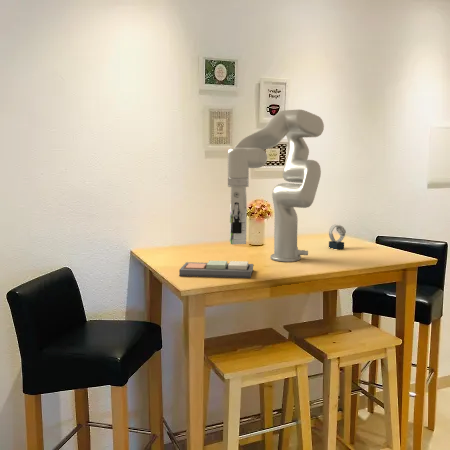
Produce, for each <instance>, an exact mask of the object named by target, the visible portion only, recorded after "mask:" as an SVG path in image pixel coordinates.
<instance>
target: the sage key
mask: <svg viewBox="0 0 450 450" xmlns="http://www.w3.org/2000/svg"><path fill="white" fill-rule="evenodd" d="M206 263H207V265H206V269H225V268H226V266H227V263H228V261H227V260H209V261H208V262H206Z"/></svg>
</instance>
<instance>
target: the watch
mask: <svg viewBox="0 0 450 450" xmlns="http://www.w3.org/2000/svg"><path fill="white" fill-rule="evenodd" d="M334 229H336V232H337V233H338V235H339V236H340V237H339V238H338V239H337V240H336V239H335V236H334V233H333V231H334ZM346 233H347V232H346V229H345V227H344V226H343V225H341V224H332V225H331V227H330V228H329V230H328V237H329V239H330V241H328V248H329V247H330V248H329V249H331V248H333V249H332V250H334V249H341V250H345V242H343V240H344V239H345V237H346Z"/></svg>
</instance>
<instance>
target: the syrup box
mask: <svg viewBox="0 0 450 450" xmlns="http://www.w3.org/2000/svg"><path fill="white" fill-rule="evenodd" d="M238 208H239V207H238ZM247 208H248V207H247V206H246V205H245V214H244V215H243V213H241V222H242V233H233V214H232V213H231V203H230V204H229V242H230V245H246V244H247V210H248V209H247ZM238 214H240V213H238Z"/></svg>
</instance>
